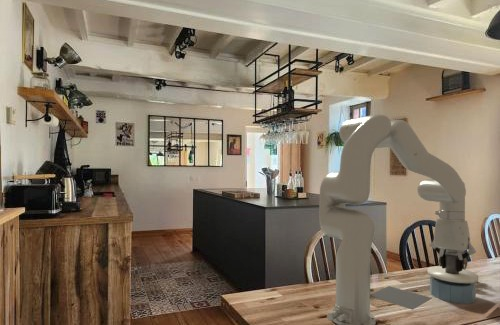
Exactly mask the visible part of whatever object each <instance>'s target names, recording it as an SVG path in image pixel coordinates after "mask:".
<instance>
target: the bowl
mask: <svg viewBox="0 0 500 325" xmlns="http://www.w3.org/2000/svg"><path fill="white" fill-rule="evenodd" d="M476 285H477V284H476V282H475V283H456V282H449V281H444V280H440V279H437V278H434V277H432V276H429V293H430V295H431V296H432V297H434V298H437V299H438V300H442V301H445V302H449V303H455V304H462V305H463V304H464V305H466V304H473V303H474V302H476V294H477V293H476V290H477V289H476Z"/></svg>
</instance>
